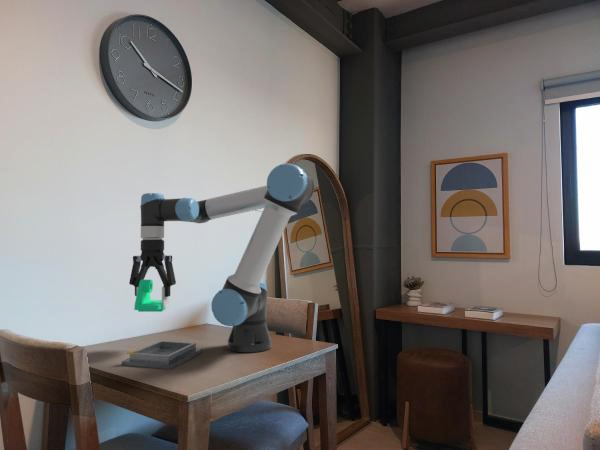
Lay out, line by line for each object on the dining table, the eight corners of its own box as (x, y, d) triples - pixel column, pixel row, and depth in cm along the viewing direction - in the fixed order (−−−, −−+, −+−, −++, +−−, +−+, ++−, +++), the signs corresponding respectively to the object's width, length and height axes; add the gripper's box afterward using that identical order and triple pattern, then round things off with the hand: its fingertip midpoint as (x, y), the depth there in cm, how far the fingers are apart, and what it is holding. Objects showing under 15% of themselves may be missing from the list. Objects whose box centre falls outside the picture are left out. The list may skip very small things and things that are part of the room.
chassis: (202, 352, 142) (202, 340, 142) (170, 369, 123) (170, 355, 123) (159, 348, 146) (159, 337, 146) (121, 365, 127) (122, 352, 127)
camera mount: (158, 313, 138) (159, 281, 138) (134, 313, 137) (135, 281, 138) (168, 307, 150) (168, 278, 150) (146, 307, 149) (146, 278, 150)
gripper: (186, 238, 145) (187, 305, 144) (131, 239, 151) (131, 304, 150) (174, 238, 138) (175, 308, 137) (117, 239, 144) (117, 307, 143)
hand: (152, 306), depth 144 cm, fingers closed on camera mount, 9 cm apart
